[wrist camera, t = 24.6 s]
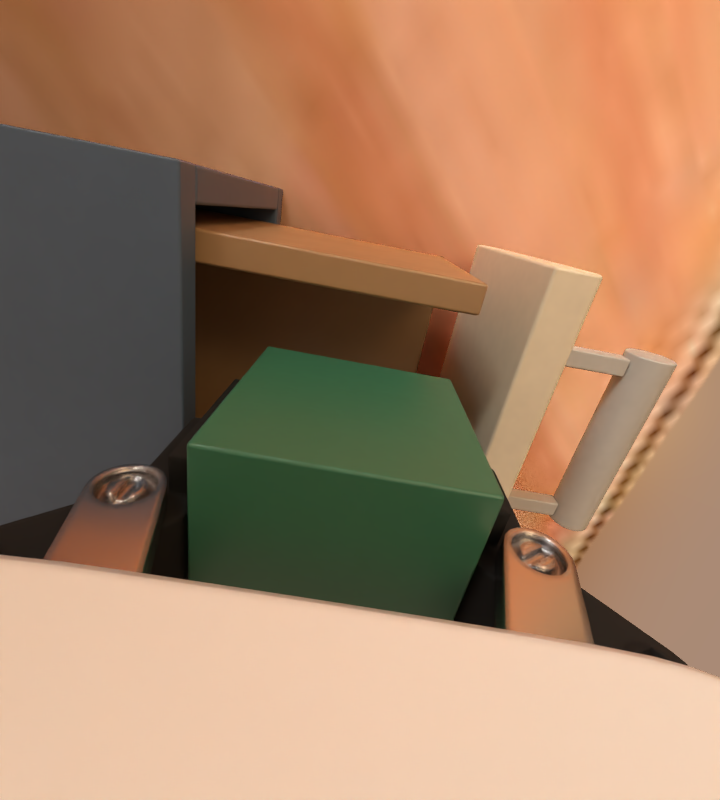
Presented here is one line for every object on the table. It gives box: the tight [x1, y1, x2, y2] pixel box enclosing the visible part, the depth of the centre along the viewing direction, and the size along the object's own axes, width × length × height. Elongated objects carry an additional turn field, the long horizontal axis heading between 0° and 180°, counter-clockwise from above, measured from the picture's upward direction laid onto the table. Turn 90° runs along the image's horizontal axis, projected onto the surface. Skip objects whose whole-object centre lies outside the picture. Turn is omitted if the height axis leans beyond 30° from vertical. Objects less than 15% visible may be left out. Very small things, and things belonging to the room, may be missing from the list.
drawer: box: [195, 208, 677, 531], centre depth 15 cm, size 18×11×8 cm, turn 80°
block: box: [187, 347, 504, 621], centre depth 9 cm, size 5×5×5 cm
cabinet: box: [0, 124, 283, 525], centre depth 14 cm, size 15×13×10 cm
